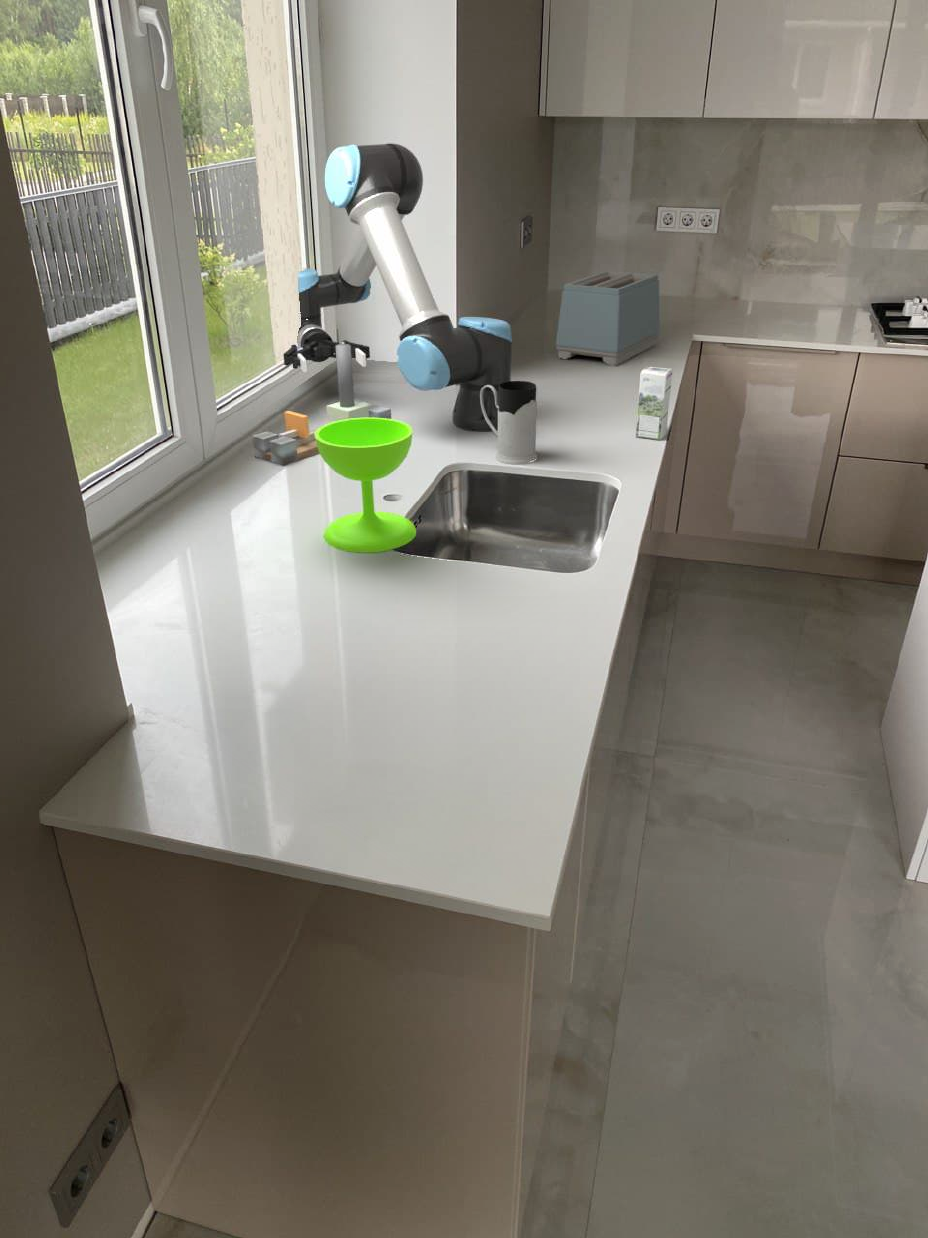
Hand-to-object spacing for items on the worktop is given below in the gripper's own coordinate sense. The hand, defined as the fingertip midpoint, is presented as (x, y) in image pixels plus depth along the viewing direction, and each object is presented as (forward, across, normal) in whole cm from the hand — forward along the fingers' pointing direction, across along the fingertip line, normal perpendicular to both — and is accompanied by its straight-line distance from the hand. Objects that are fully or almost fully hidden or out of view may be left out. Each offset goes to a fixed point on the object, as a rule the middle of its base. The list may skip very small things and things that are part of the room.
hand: (334, 363), depth 213 cm
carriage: (+10, 0, -10) cm, 14 cm away
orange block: (+18, +14, -10) cm, 25 cm away
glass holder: (+35, -28, -14) cm, 47 cm away
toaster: (-39, -91, -14) cm, 100 cm away
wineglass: (+65, +10, -14) cm, 67 cm away
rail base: (+13, +6, -14) cm, 20 cm away
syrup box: (+35, -62, -14) cm, 73 cm away
